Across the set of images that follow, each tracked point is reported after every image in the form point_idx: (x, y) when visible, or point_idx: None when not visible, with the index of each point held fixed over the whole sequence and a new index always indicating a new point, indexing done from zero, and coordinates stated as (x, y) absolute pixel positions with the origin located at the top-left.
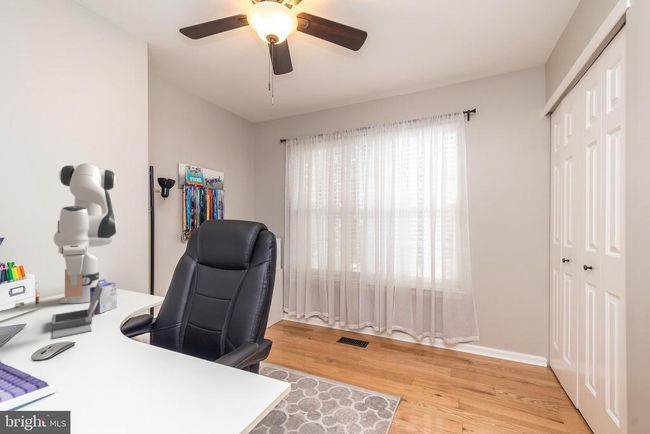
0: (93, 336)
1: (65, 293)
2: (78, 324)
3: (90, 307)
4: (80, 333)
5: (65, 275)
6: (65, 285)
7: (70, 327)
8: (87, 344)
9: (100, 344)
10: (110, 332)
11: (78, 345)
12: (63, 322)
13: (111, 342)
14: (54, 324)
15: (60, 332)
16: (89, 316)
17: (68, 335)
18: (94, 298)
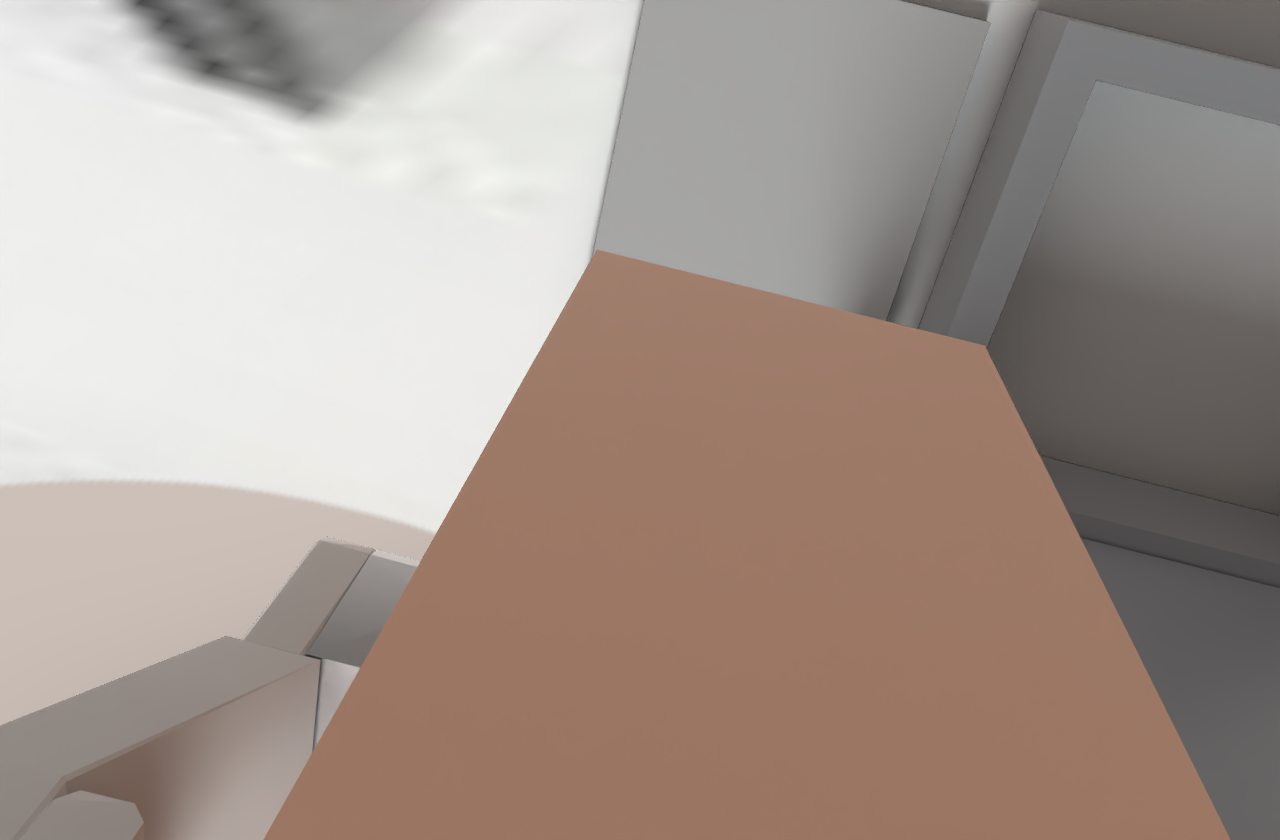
0: (361, 308)
1: (565, 306)
2: (928, 329)
3: (1261, 631)
4: (595, 248)
5: (331, 731)
6: (502, 421)
7: (958, 235)
8: (124, 181)
9: (32, 268)
10: (360, 463)
11: (159, 105)
12: (1004, 176)
13: (21, 356)
14: (1050, 57)
15: (823, 79)
16: None
17: (620, 123)
18: (1201, 771)
